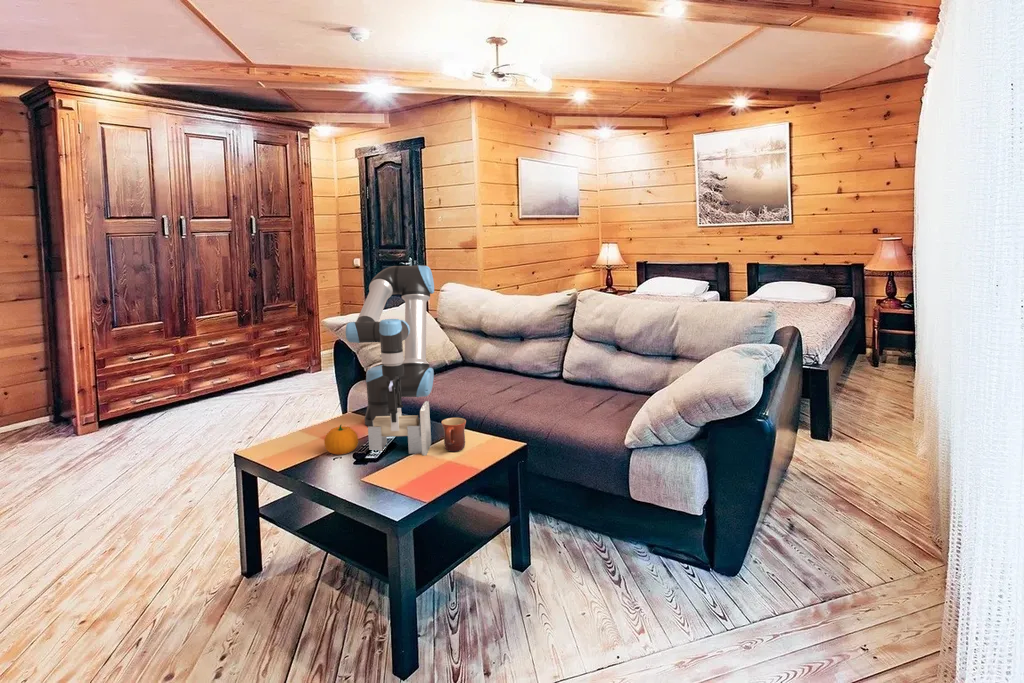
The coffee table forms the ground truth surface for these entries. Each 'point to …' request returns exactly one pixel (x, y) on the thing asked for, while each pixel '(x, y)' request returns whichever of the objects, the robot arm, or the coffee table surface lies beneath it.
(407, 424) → the light wooden block
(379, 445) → the saddle post
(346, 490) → the coffee table surface
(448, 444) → the mug
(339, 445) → the fruit
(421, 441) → the cup bracket
